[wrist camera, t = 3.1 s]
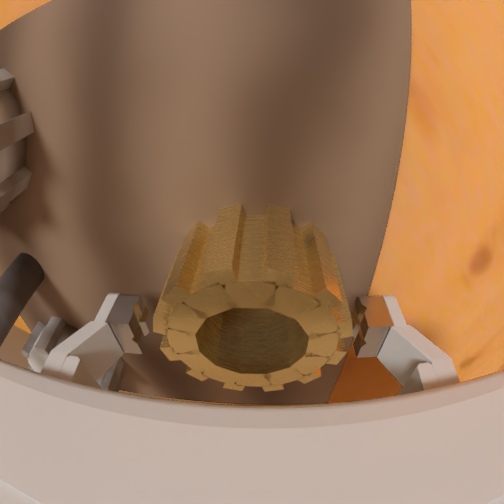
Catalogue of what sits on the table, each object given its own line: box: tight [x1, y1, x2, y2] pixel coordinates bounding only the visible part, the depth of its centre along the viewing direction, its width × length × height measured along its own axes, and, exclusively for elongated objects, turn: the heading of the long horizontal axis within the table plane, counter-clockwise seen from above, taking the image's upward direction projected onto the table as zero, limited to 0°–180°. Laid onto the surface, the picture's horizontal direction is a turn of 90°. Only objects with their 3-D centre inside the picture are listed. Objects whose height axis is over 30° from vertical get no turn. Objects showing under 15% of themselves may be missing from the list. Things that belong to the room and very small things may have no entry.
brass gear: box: [153, 204, 353, 392], centre depth 11 cm, size 6×6×4 cm
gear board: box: [0, 0, 412, 405], centre depth 11 cm, size 21×24×7 cm
